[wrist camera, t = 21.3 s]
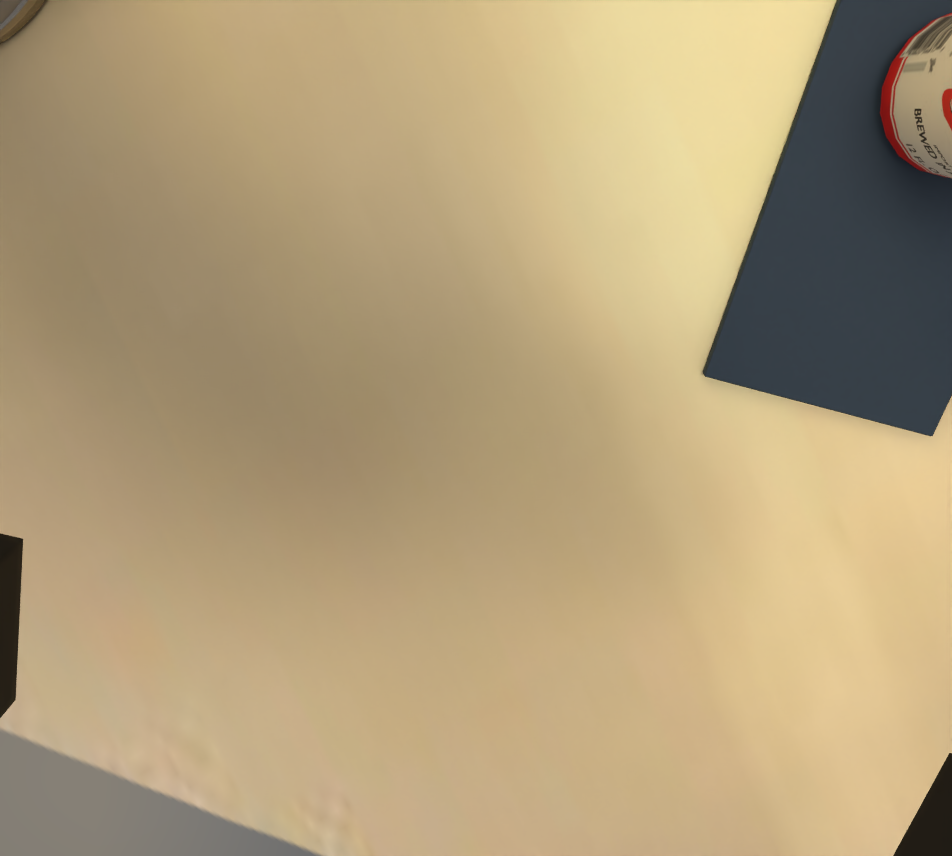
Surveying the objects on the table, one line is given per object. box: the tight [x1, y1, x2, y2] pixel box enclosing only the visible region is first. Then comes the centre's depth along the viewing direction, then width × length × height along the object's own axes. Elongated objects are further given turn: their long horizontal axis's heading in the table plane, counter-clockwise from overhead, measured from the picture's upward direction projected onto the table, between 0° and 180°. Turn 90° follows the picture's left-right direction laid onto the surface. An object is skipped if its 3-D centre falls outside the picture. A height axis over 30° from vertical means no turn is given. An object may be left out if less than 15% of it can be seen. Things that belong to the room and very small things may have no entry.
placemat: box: [703, 0, 952, 436], centre depth 37 cm, size 22×11×1 cm, turn 166°
